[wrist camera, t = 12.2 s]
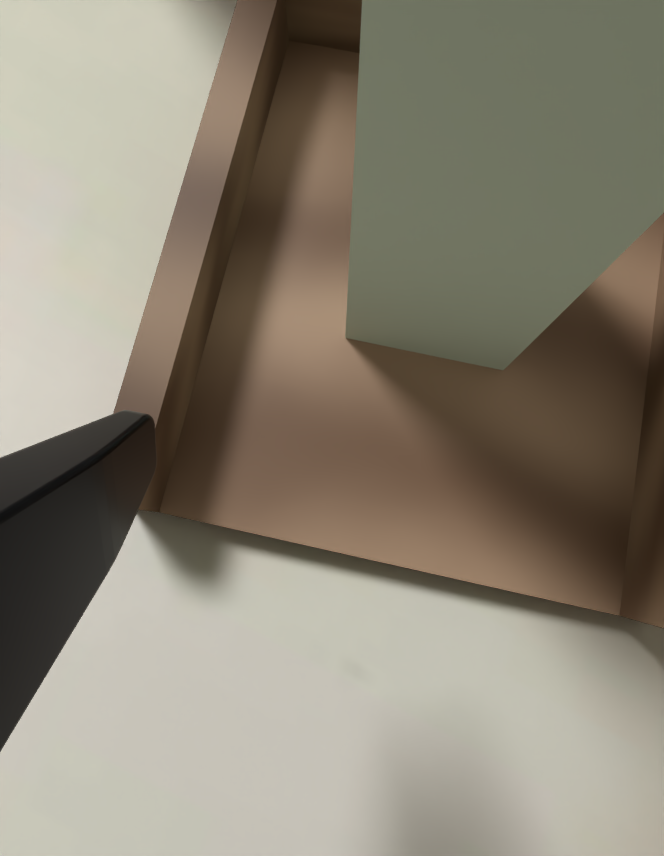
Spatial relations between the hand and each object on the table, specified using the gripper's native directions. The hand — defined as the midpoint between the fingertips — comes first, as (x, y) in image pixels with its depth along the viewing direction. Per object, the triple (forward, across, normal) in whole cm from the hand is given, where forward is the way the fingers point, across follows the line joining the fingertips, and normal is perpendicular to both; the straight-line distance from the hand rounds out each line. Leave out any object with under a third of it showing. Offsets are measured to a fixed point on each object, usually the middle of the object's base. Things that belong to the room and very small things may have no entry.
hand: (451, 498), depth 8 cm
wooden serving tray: (+12, 0, +1) cm, 12 cm away
